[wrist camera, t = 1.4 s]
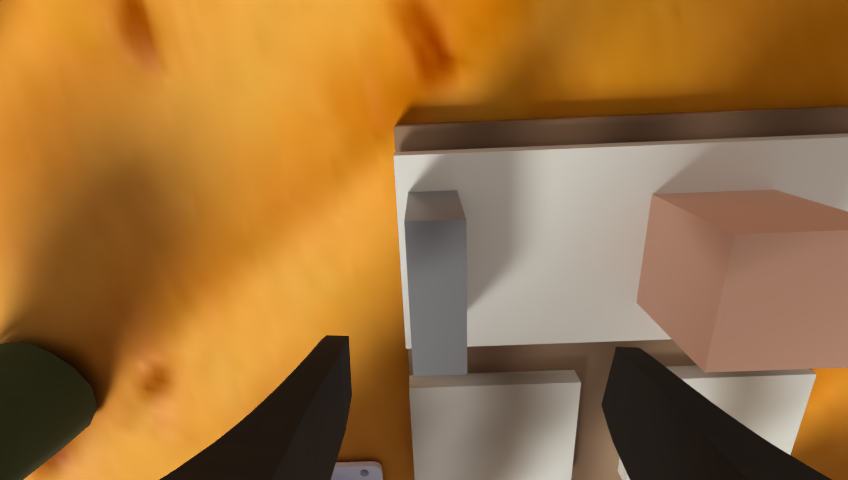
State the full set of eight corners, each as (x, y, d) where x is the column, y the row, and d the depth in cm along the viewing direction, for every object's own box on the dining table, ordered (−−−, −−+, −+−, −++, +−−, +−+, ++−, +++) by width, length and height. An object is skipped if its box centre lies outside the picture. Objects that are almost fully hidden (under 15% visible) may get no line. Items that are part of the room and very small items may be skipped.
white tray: (406, 337, 21) (402, 409, 16) (395, 152, 18) (385, 176, 13) (818, 322, 21) (932, 391, 16) (877, 132, 18) (1038, 150, 13)
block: (636, 302, 19) (704, 372, 15) (651, 194, 18) (734, 234, 13) (748, 298, 19) (852, 367, 15) (774, 189, 18) (902, 228, 13)
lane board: (417, 481, 26) (416, 512, 24) (395, 124, 19) (392, 129, 17) (749, 470, 26) (775, 501, 24) (854, 105, 19) (902, 108, 17)
